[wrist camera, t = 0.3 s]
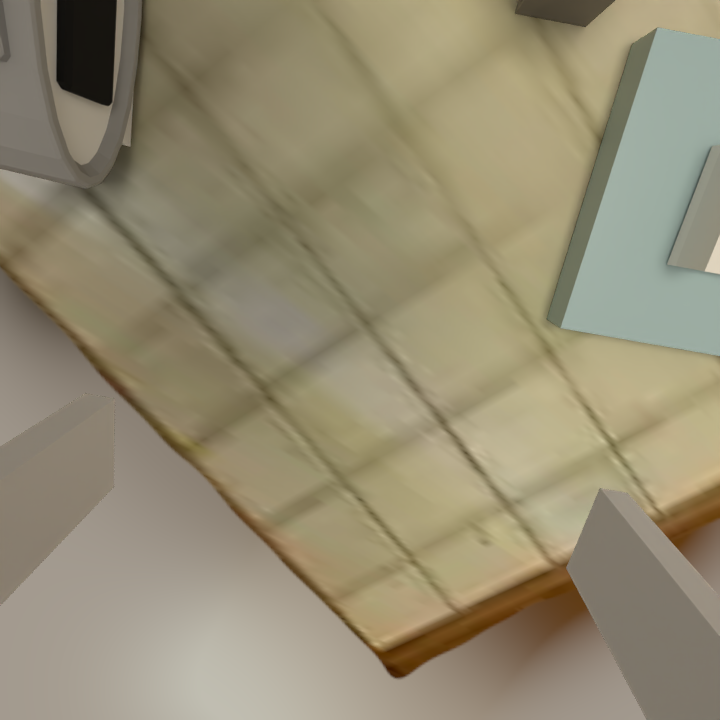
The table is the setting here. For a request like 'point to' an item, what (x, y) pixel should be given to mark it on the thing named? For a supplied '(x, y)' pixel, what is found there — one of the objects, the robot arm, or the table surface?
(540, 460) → the table surface
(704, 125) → the socket plate
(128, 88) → the alarm clock
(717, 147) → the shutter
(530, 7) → the plug
